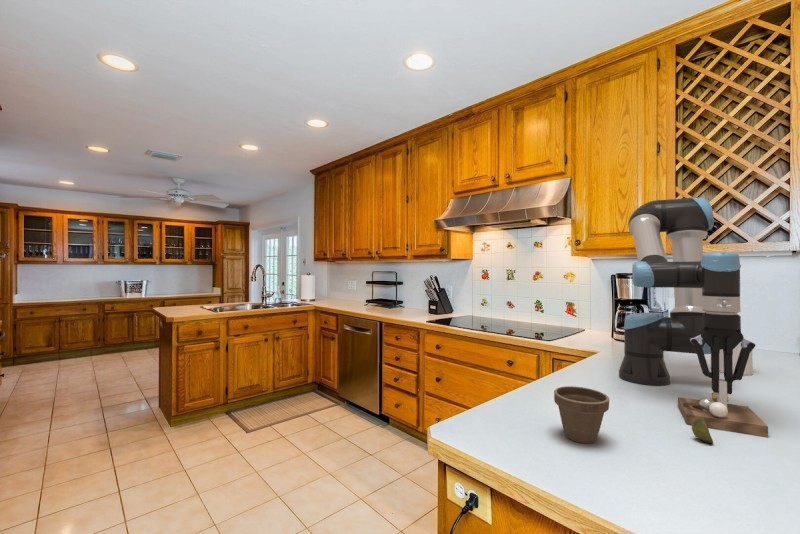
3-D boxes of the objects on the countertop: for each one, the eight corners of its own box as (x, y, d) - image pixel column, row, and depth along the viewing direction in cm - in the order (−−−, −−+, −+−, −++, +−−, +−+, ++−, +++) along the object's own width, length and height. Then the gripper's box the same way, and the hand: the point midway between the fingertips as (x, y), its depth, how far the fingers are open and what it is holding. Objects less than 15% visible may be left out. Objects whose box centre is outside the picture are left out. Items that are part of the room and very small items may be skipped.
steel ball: (713, 397, 96) (720, 411, 96) (709, 394, 100) (716, 408, 99) (697, 401, 98) (704, 415, 97) (694, 398, 101) (701, 411, 100)
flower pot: (618, 451, 80) (617, 403, 80) (560, 447, 82) (560, 400, 82) (599, 429, 91) (599, 387, 92) (549, 426, 93) (549, 384, 93)
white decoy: (711, 418, 92) (710, 403, 92) (707, 413, 95) (707, 399, 95) (729, 420, 90) (729, 405, 90) (725, 415, 93) (725, 401, 93)
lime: (705, 436, 88) (704, 414, 88) (723, 446, 83) (723, 422, 83) (685, 436, 88) (685, 414, 88) (703, 446, 83) (702, 423, 83)
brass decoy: (713, 405, 101) (713, 391, 101) (710, 401, 104) (710, 388, 104) (730, 407, 99) (730, 394, 99) (726, 403, 102) (726, 390, 102)
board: (686, 424, 94) (686, 414, 94) (677, 406, 107) (677, 397, 108) (768, 437, 87) (768, 426, 87) (747, 415, 100) (747, 406, 100)
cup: (746, 377, 137) (745, 343, 137) (706, 370, 147) (706, 339, 147) (757, 372, 144) (756, 340, 144) (718, 366, 153) (718, 336, 154)
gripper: (691, 312, 97) (692, 406, 97) (759, 315, 91) (761, 415, 91) (686, 310, 104) (687, 397, 103) (749, 312, 98) (751, 405, 97)
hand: (722, 405), depth 97 cm, fingers closed
